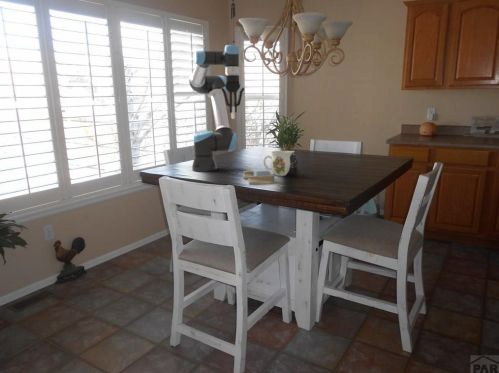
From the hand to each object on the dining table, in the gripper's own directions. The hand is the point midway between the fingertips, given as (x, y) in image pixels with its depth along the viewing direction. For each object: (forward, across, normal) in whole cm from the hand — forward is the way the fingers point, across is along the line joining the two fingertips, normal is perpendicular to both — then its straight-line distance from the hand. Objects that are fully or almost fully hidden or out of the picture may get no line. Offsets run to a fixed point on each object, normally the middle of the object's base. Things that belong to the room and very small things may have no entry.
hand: (233, 118), depth 222 cm
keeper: (+33, +11, -18) cm, 39 cm away
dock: (+32, +9, -18) cm, 38 cm away
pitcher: (+33, +25, -6) cm, 42 cm away
